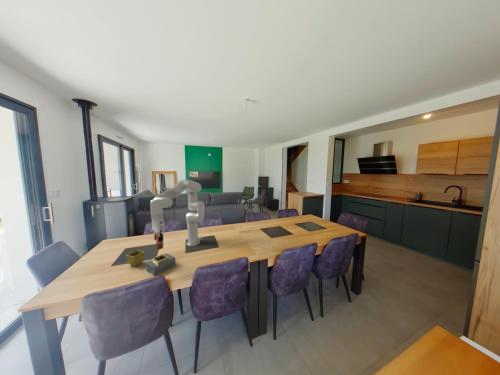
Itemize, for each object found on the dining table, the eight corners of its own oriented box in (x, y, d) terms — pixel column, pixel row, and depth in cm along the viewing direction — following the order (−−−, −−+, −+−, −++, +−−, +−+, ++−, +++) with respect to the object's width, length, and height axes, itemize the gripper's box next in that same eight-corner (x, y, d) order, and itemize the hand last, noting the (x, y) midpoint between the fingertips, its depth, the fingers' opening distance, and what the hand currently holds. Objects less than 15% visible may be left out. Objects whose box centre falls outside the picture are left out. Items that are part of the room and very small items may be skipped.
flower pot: (138, 260, 136) (137, 249, 135) (145, 262, 133) (144, 251, 132) (126, 266, 128) (125, 255, 127) (134, 268, 125) (133, 257, 124)
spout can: (161, 245, 128) (160, 226, 126) (164, 247, 125) (163, 227, 123) (155, 248, 124) (154, 228, 122) (158, 249, 122) (157, 229, 119)
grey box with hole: (166, 260, 136) (166, 251, 135) (175, 264, 129) (174, 255, 128) (145, 270, 122) (144, 260, 122) (154, 275, 116) (153, 265, 115)
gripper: (168, 216, 120) (170, 241, 122) (156, 213, 129) (158, 236, 131) (158, 219, 114) (160, 245, 116) (145, 215, 123) (147, 239, 125)
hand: (159, 240), depth 123 cm, fingers closed on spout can, 4 cm apart
